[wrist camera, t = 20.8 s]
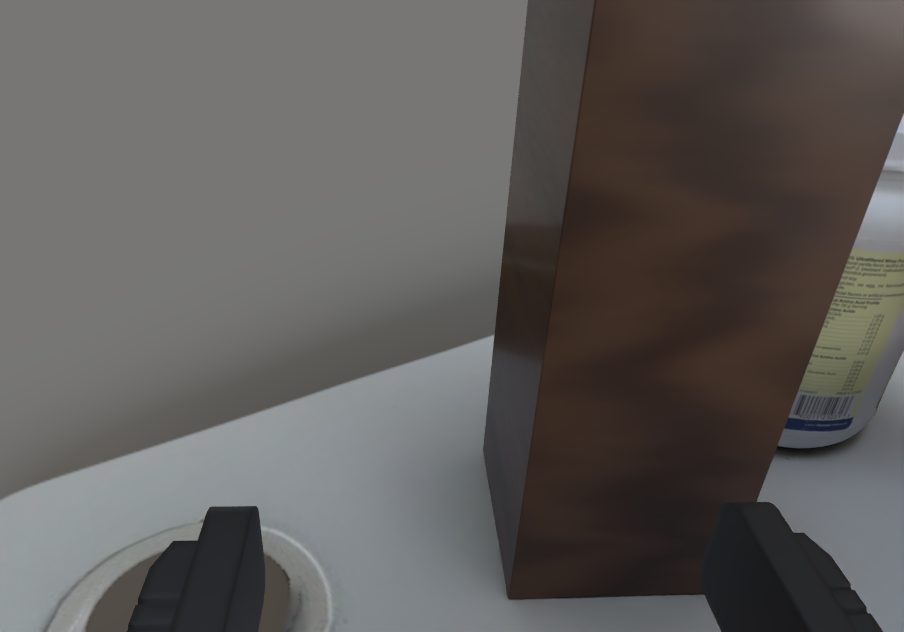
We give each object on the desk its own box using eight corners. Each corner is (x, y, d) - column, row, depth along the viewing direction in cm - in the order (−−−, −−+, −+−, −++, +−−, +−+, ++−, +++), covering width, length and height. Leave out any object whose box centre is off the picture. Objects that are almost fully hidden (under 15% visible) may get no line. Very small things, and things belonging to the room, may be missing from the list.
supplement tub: (723, 319, 48) (796, 71, 40) (904, 406, 40) (1043, 118, 32) (610, 373, 42) (669, 88, 33) (801, 491, 33) (943, 154, 25)
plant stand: (508, 599, 27) (601, -44, 16) (482, 449, 35) (533, -55, 24) (722, 593, 28) (956, -24, 17) (651, 448, 36) (778, -41, 25)
